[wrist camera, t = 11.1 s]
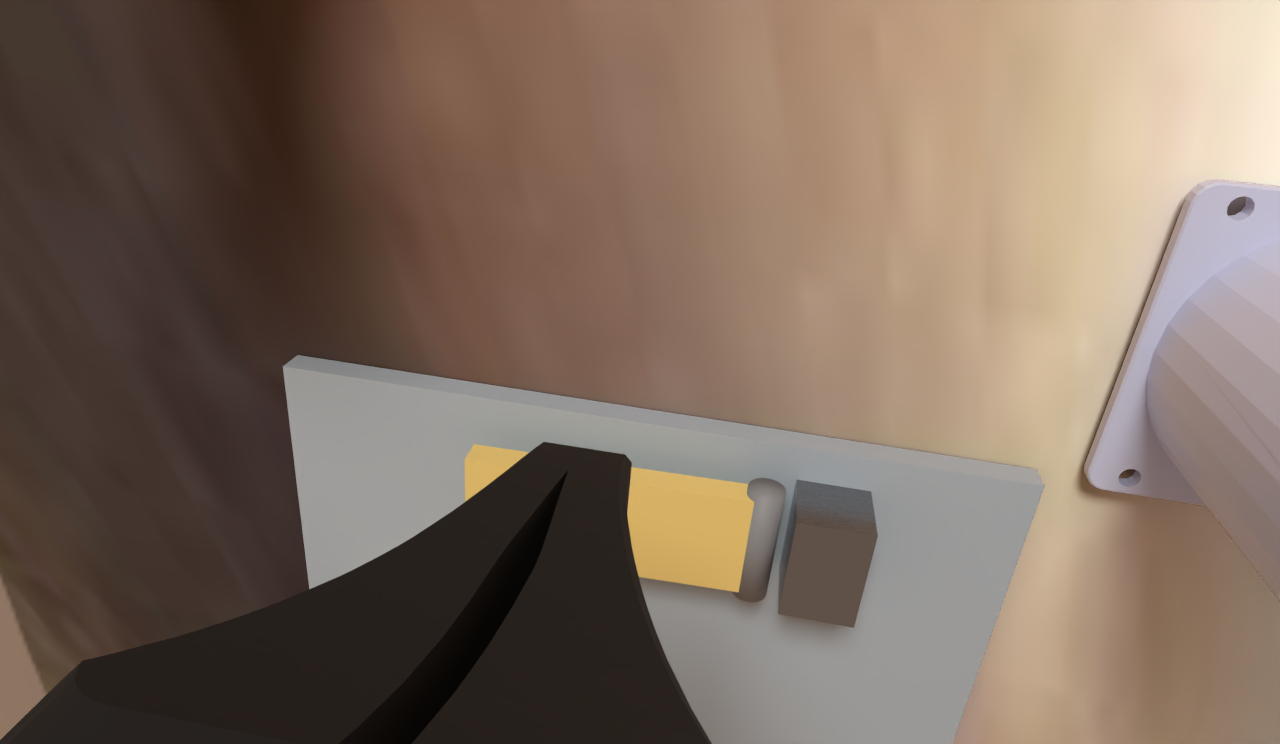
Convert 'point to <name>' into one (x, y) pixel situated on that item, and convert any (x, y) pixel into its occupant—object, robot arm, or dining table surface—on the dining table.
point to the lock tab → (683, 524)
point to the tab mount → (826, 553)
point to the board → (687, 614)
